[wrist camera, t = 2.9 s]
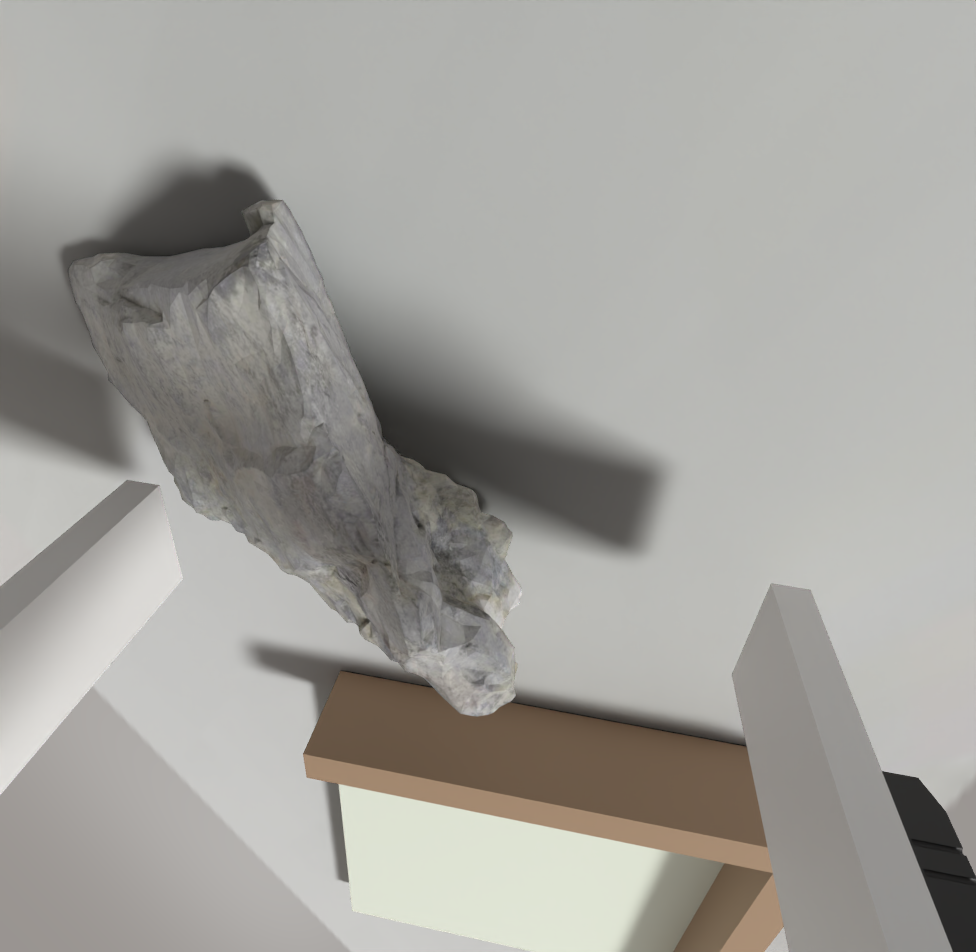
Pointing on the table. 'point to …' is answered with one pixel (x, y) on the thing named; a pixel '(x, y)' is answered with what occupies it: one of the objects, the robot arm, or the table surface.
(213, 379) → the stone
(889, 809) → the robot arm
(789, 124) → the table surface
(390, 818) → the corner
